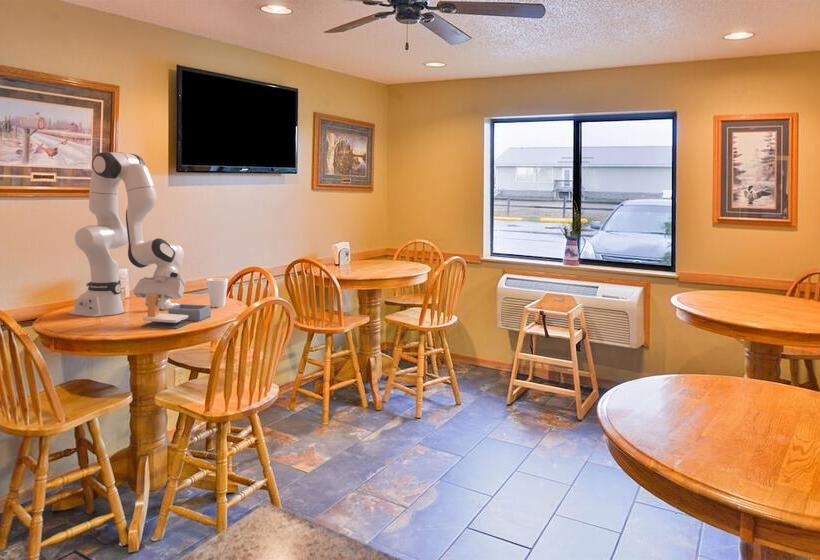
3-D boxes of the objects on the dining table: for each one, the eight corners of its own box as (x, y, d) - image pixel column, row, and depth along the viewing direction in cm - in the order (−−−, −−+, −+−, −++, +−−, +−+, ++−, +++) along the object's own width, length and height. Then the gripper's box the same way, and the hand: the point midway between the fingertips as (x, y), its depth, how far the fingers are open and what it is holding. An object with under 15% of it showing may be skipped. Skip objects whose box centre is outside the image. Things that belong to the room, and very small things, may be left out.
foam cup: (232, 306, 285) (231, 279, 283) (216, 309, 277) (216, 281, 275) (219, 303, 290) (218, 277, 288) (203, 306, 282) (202, 279, 280)
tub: (168, 319, 253) (168, 308, 252) (180, 315, 263) (180, 303, 262) (199, 321, 251) (199, 310, 250) (210, 316, 261) (210, 305, 260)
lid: (143, 320, 239) (142, 296, 238) (156, 315, 249) (156, 291, 247) (175, 322, 237) (175, 298, 236) (188, 317, 247) (187, 293, 246)
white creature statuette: (180, 307, 279) (179, 282, 277) (170, 311, 270) (169, 285, 268) (162, 306, 280) (161, 281, 278) (151, 310, 272) (150, 284, 270)
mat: (141, 327, 239) (141, 325, 239) (156, 321, 250) (156, 319, 250) (176, 329, 237) (176, 327, 237) (190, 323, 248) (190, 321, 248)
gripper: (137, 272, 249) (125, 300, 241) (183, 274, 247) (172, 302, 239) (144, 281, 254) (132, 308, 246) (189, 283, 252) (178, 310, 244)
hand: (152, 305), depth 242 cm, fingers closed on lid, 3 cm apart
